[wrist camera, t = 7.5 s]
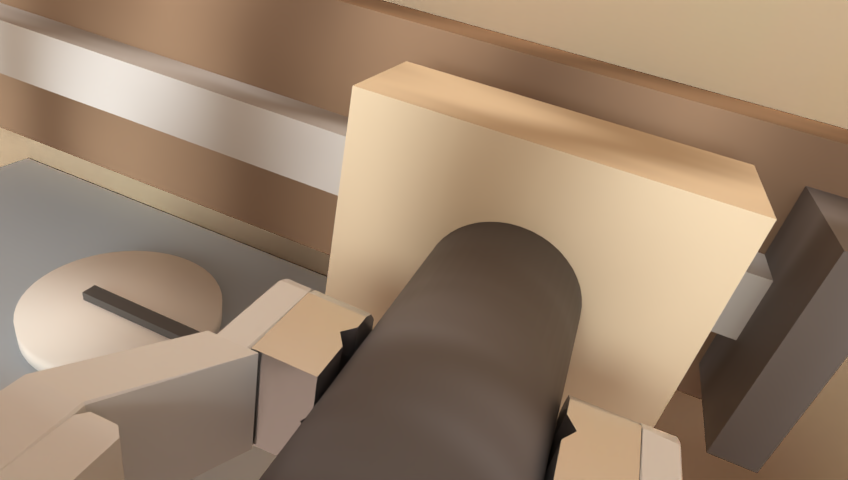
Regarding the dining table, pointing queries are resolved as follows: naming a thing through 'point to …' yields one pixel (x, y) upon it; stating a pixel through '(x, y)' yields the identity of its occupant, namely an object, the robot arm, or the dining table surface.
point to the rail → (457, 55)
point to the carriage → (512, 277)
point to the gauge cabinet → (116, 279)
